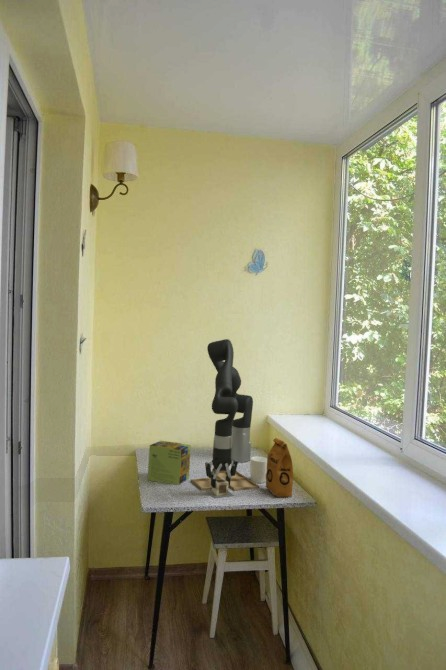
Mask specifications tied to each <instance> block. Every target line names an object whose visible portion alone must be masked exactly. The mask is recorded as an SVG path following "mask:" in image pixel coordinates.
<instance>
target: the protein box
mask: <svg viewBox="0 0 446 670" xmlns="http://www.w3.org/2000/svg"><path fill="white" fill-rule="evenodd" d="M191 448H192V447H191V444H187V443H181V442H180V443H178V442H174V441H167V440H159V441H156V442H154V443H152V444H149V450H148V465H147V466H148V467H147V468H148V470H147V481H151V482H156V483H158V482H159V483H166V484H169V485H170V484H171V485H178V486H180V485H181V484H183V483H185V482H187V480H189V479H190V463H191Z"/></svg>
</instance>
